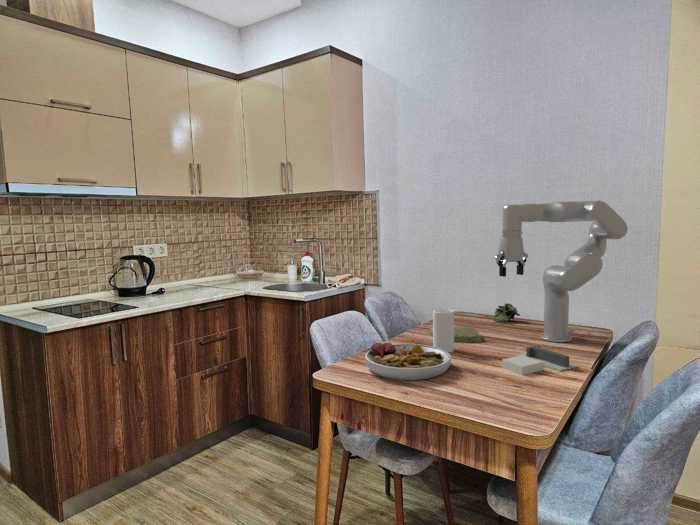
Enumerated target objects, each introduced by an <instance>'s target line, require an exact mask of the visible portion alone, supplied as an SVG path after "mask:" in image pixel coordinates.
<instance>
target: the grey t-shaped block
mask: <svg viewBox="0 0 700 525" xmlns="http://www.w3.org/2000/svg"><path fill="white" fill-rule="evenodd" d="M525 353H526V356H527V357H534V358H537V359H541V360H544V361H547V362H550V363H553V364H556V365H559V366H562V367H568V366H569V363H570V356H569V355H566V354H562V353H559V352H556V351H552V350H549V349H546V348H542V347H541V345H537V344H536V345H533V346H527V347H526V348H525Z"/></svg>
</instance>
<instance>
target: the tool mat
mask: <svg viewBox="0 0 700 525" xmlns="http://www.w3.org/2000/svg"><path fill="white" fill-rule="evenodd" d="M522 355H524V356H526V352H522V353H518V354H517V353H516V354H515V356H514V357H517V356H522ZM530 358H533V359H536V360H539V361H542V362H543V367H546V368H548V369H552V370H554V369H555V371H557V370H558V372H563V371H562V370H564V371H567V369H569V370H572V369H571V368H573V369H576V368H575V367H577V368H579V365H577V364H575V363H571V362H569V366H568V367H562V366H559V365H556V364H553V363H550V362H547V361H544V360H541V359H537V358H534V357H530Z"/></svg>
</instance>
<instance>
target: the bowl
mask: <svg viewBox="0 0 700 525" xmlns="http://www.w3.org/2000/svg"><path fill="white" fill-rule="evenodd" d="M364 359H365V363H366V366H367V367H368V368H369V370H370V371H371V372H373V373H375V374H376V375H379V376H381V377H384V378H388V379H393V380H398V379H399V380H401V381H421V379H422V380H428V378H429V379H433V378H436V377H439V376H441V375H442V374H444V373H445V372H446V371H447V370H448V369H449V368H450V366H451V364H452V355H451V354H450V353H448V352H446V351H444V350H442V349H440V348H436V347H433V345H432V346H431V345H426V344H417V343H396V344H395V343H394V344H393V343H391V342H389V341H388V342H385V343H381V342H375V343H374V344H372V345H371V347H370V349H369V350H368V351H367V352H366V353H365V356H364Z"/></svg>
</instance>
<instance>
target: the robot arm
mask: <svg viewBox="0 0 700 525" xmlns="http://www.w3.org/2000/svg"><path fill="white" fill-rule="evenodd" d="M534 222H549V223H550V222H551V223H568V222H569V223H570V222H571V223H573V222H591V223H590V226H589V228H588V229H589V230H588V238H587V241H586V242H585V243H584V244H583V245H581V246H580V247H579V248H577V249H576V250H574V251H573V252H572V253H571V254H569V255H568V256H567V257H566V258H565V259H564V266H562V265H550V266H548V267H546V268H545V270H544V271H543V273H542V284H543V290H544V291H543V292H544V308H543V310H544V312H543V315H544V316H543V333H540V334H539V338H540V339H541V340H543V341H547V342H552V343H569V342H571V341H572V340H573V337H572V336H571V335H570V334H573V333H575V332H576V329H575V328H574V327H571V328H570V327H569V314H570V297H569V296H570V295H569V292H573V291H576V290H578V289H580V288H581V287H583V286H584V285H586V284H587V283H588V282H590V281H591V280H593V279H594V278H595V277H596V276H598V275H599V274H600V272H601V270H602V269H603V264H604V263H603V259H602V257H603V256H604V255H605V254H606V251H607V240H621V239H623V238H624V237H626V235H627V233H628V225H627V223H626V221H625V219H623V217H621V215H619V214H618V213H617V212H616V211H615V210H614V209H613V208H612V207H611V206H610V205H609V204H607V203H606V202H605V201H603V200H585V201H584V200H581V201H579V200H578V201H556V202H555V201H554V202H547V203H546V202H545V203H523V204H521V203H520V204H505V205H503V207H502V235H501V236H502V237H501V238H500V241H499V246H498V254H497V255H495V256H494V259H495V263H496V264H497V266H498V267H499V268H498V270H499V272H498V273H499V274H498V275H499V277H505V278H506V277H507V266H506V265H507V264H508V263H513V262H516V275H519V276H524V268H525V265H526V262H527V260H528V257H529V254H528V253H526V252H525V250H524V240H523V237H522V236H523V229H522V227H523V223H534Z"/></svg>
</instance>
